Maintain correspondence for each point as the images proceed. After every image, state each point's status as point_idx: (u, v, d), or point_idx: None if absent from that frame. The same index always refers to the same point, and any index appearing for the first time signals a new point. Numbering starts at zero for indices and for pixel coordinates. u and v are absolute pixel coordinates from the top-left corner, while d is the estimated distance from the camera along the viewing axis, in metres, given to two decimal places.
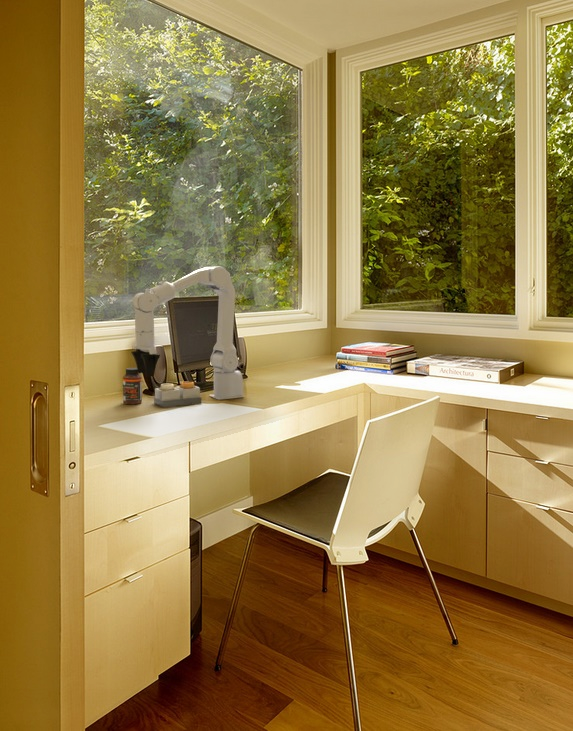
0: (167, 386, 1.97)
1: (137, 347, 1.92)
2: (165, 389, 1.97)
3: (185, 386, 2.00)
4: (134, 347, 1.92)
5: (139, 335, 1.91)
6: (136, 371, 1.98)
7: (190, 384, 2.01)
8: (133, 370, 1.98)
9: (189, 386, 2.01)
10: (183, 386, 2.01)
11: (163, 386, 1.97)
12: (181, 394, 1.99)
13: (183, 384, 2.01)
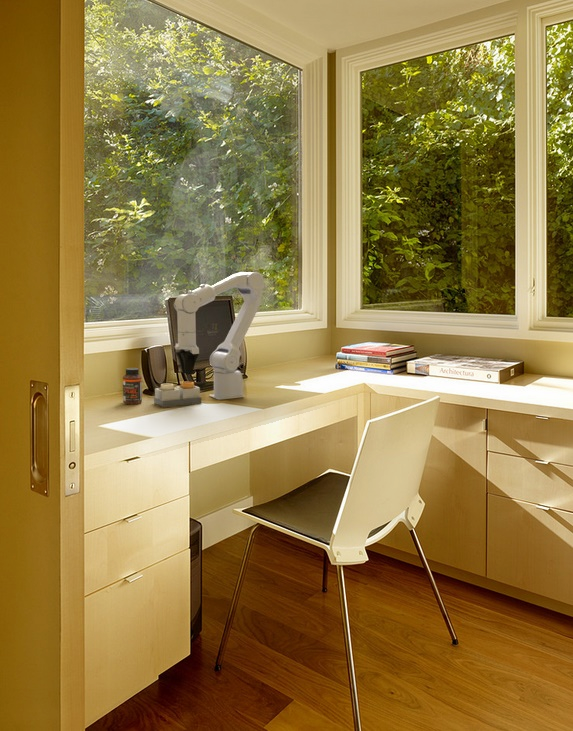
0: (167, 386, 1.97)
1: (180, 347, 1.98)
2: (165, 389, 1.97)
3: (185, 386, 2.00)
4: (177, 347, 1.98)
5: (182, 335, 1.97)
6: (136, 371, 1.98)
7: (190, 384, 2.01)
8: (133, 370, 1.98)
9: (189, 386, 2.01)
10: (183, 386, 2.01)
11: (163, 386, 1.97)
12: (181, 394, 1.99)
13: (183, 384, 2.01)
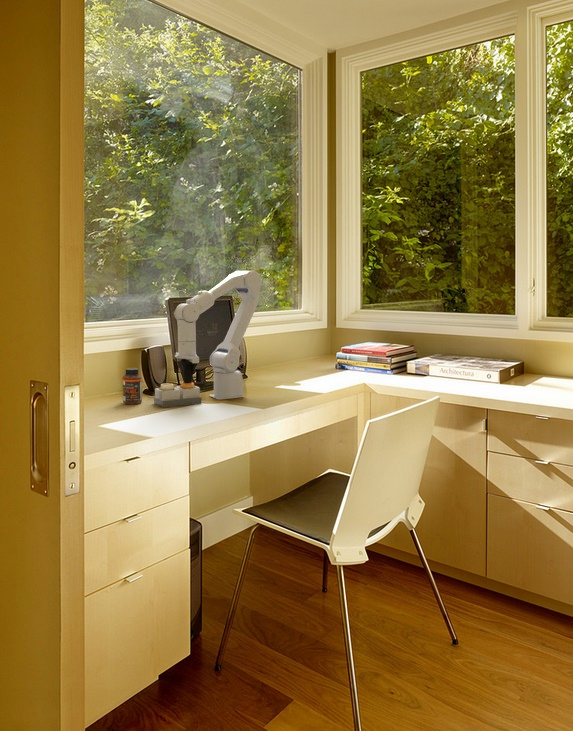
0: (167, 386, 1.97)
1: (180, 356, 1.98)
2: (165, 389, 1.97)
3: (185, 387, 2.00)
4: (177, 356, 1.98)
5: (182, 345, 1.98)
6: (136, 371, 1.98)
7: (190, 385, 2.01)
8: (133, 370, 1.98)
9: (189, 387, 2.01)
10: (183, 387, 2.01)
11: (163, 386, 1.97)
12: (181, 394, 1.99)
13: (183, 385, 2.01)
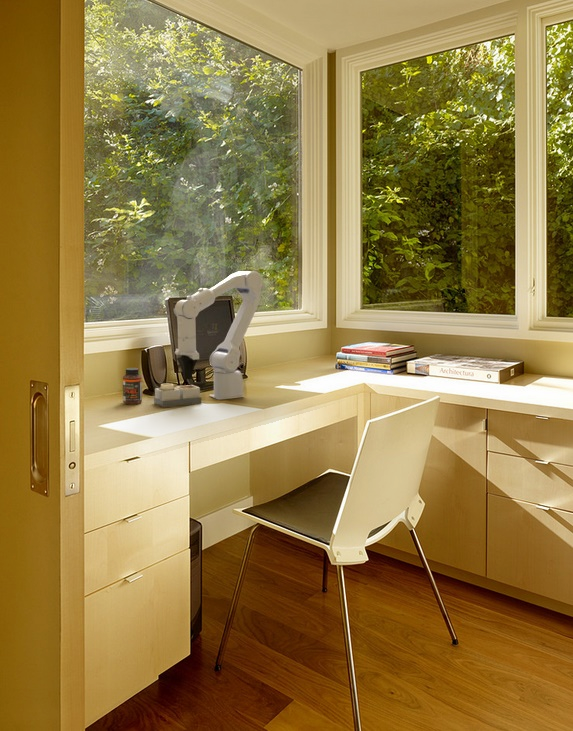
0: (167, 386, 1.97)
1: (180, 352, 1.98)
2: (165, 389, 1.97)
3: None
4: (177, 352, 1.98)
5: (182, 341, 1.98)
6: (136, 371, 1.98)
7: None
8: (133, 370, 1.98)
9: None
10: None
11: (163, 386, 1.97)
12: (181, 394, 1.99)
13: None
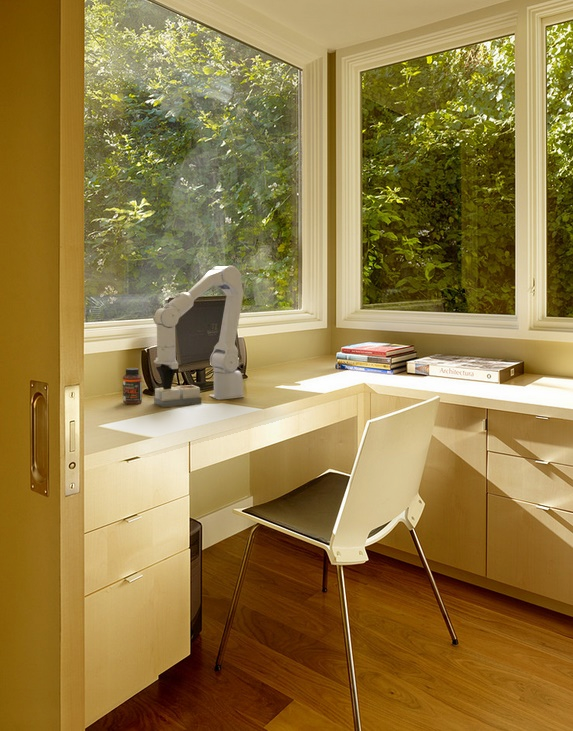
0: None
1: (159, 362, 1.95)
2: None
3: None
4: (156, 362, 1.95)
5: (161, 350, 1.94)
6: (136, 371, 1.98)
7: None
8: (133, 370, 1.98)
9: None
10: None
11: None
12: (181, 394, 1.99)
13: None
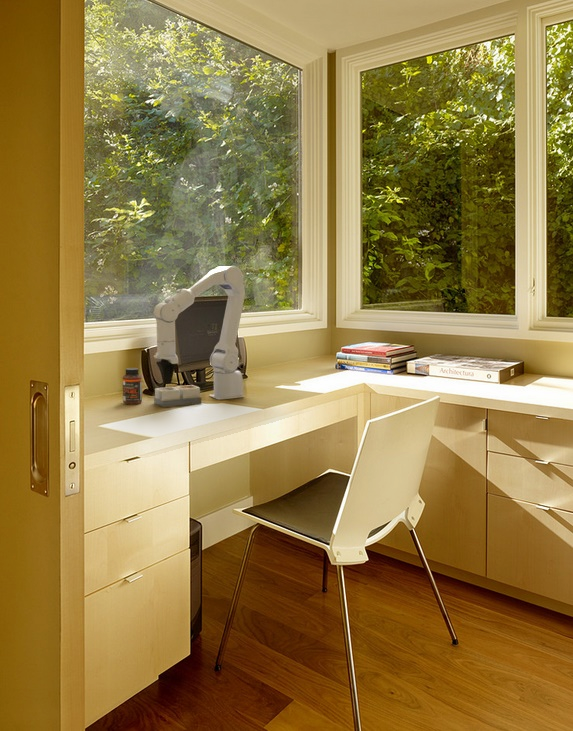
0: None
1: (159, 356, 1.95)
2: None
3: None
4: (156, 356, 1.94)
5: (161, 345, 1.94)
6: (136, 371, 1.98)
7: None
8: (133, 370, 1.98)
9: None
10: None
11: None
12: (181, 394, 1.99)
13: None
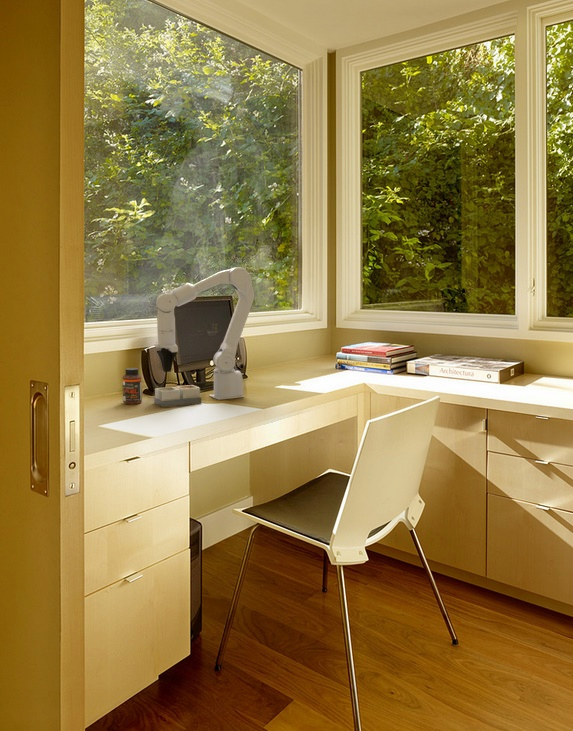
0: None
1: (159, 345, 2.02)
2: None
3: None
4: (156, 345, 2.02)
5: (161, 334, 2.02)
6: (136, 371, 1.98)
7: None
8: (133, 370, 1.98)
9: None
10: None
11: None
12: (181, 394, 1.99)
13: None
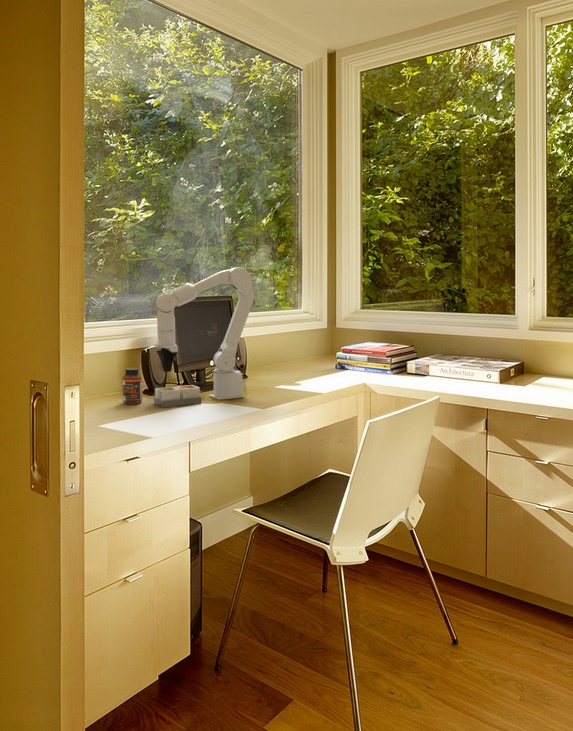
0: None
1: (159, 345, 2.02)
2: None
3: None
4: (156, 345, 2.02)
5: (161, 334, 2.02)
6: (136, 371, 1.98)
7: None
8: (133, 370, 1.98)
9: None
10: None
11: None
12: (181, 394, 1.99)
13: None
